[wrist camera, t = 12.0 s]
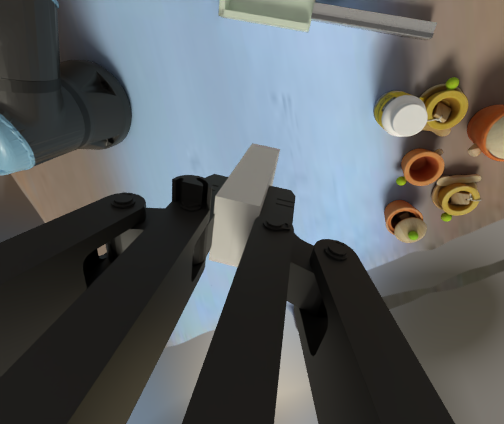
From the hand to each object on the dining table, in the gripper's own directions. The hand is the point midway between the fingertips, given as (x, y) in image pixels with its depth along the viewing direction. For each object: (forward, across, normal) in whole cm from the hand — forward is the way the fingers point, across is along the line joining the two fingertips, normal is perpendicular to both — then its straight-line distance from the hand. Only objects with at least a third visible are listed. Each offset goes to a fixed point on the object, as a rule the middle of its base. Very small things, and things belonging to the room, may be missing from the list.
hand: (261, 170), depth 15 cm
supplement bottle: (+35, +15, +1) cm, 38 cm away
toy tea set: (+35, +26, -6) cm, 44 cm away
